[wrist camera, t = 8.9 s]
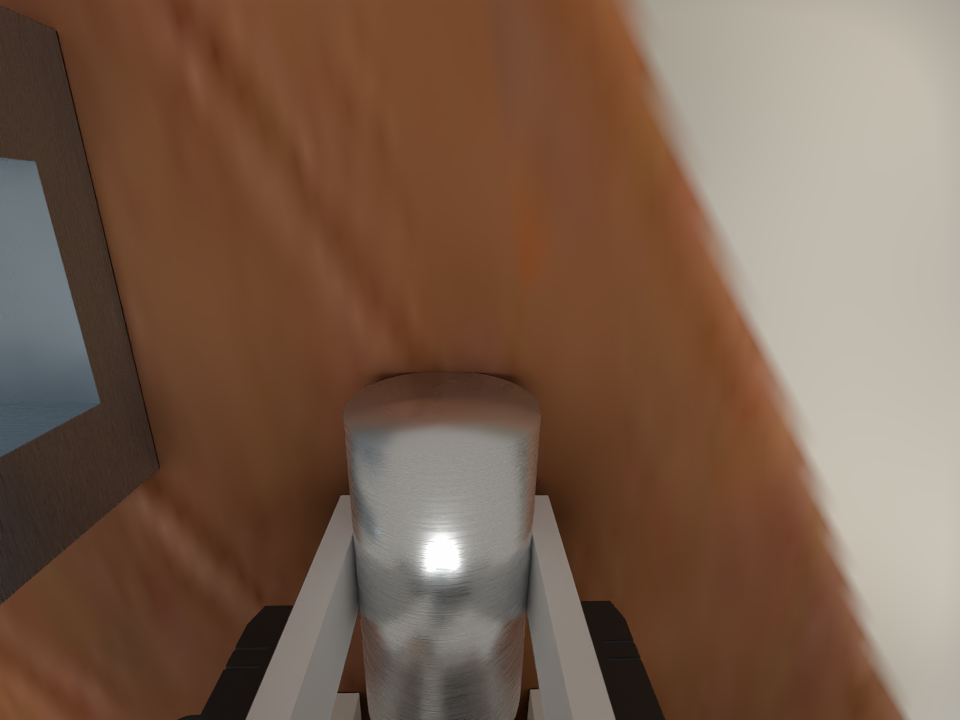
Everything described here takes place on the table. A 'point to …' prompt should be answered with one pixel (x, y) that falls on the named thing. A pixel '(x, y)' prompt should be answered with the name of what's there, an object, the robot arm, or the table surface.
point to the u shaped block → (349, 711)
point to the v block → (56, 324)
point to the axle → (442, 541)
